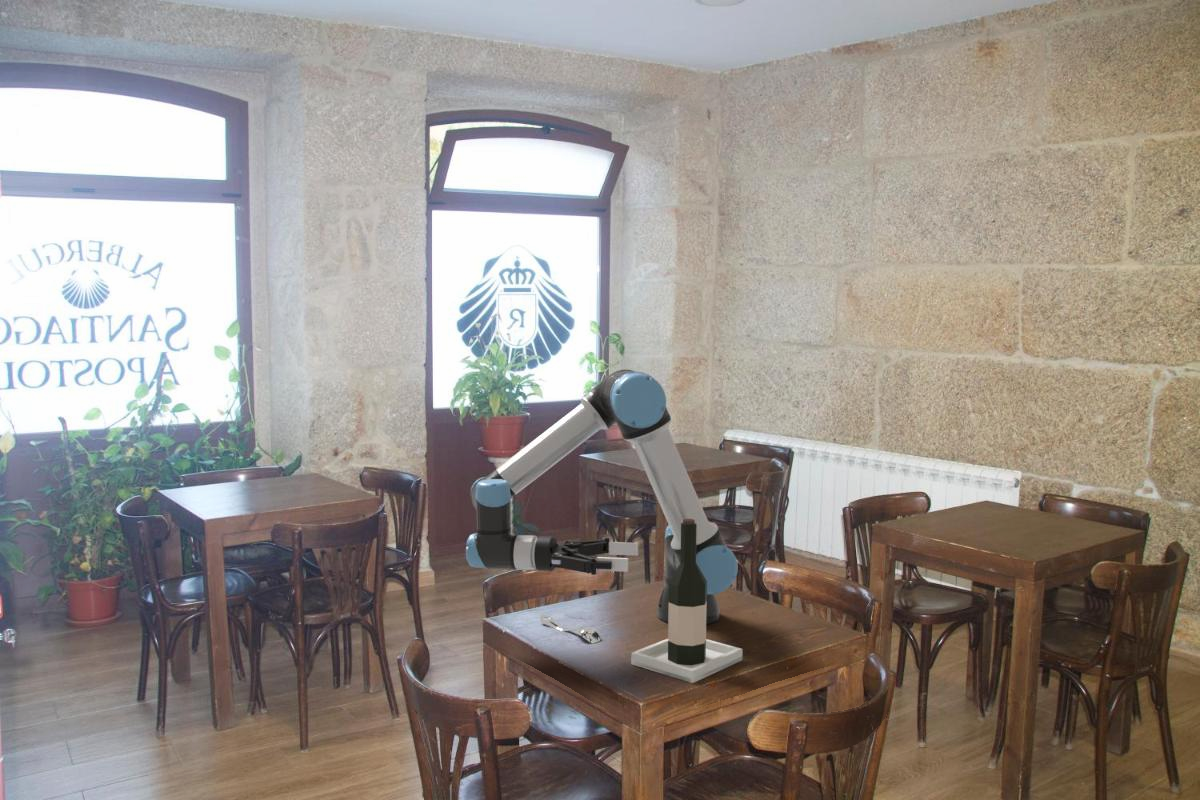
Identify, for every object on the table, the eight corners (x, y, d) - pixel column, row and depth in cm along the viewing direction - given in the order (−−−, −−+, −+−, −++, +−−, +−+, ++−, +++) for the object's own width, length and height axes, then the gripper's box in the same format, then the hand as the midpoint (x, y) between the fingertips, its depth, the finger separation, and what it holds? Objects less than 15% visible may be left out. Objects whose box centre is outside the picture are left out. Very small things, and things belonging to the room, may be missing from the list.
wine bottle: (659, 660, 215) (661, 520, 212) (679, 649, 222) (681, 514, 219) (694, 668, 210) (696, 526, 208) (713, 657, 217) (715, 519, 214)
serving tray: (682, 643, 228) (682, 632, 228) (742, 660, 218) (742, 648, 217) (631, 664, 215) (631, 652, 215) (692, 683, 204) (692, 671, 204)
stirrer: (534, 608, 242) (549, 604, 245) (533, 623, 242) (549, 619, 245) (588, 634, 227) (604, 630, 230) (588, 649, 227) (604, 645, 230)
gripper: (550, 555, 234) (642, 559, 230) (522, 585, 209) (623, 590, 205) (550, 523, 233) (641, 526, 229) (521, 550, 209) (623, 553, 205)
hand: (633, 556), depth 217 cm, fingers open, 13 cm apart
